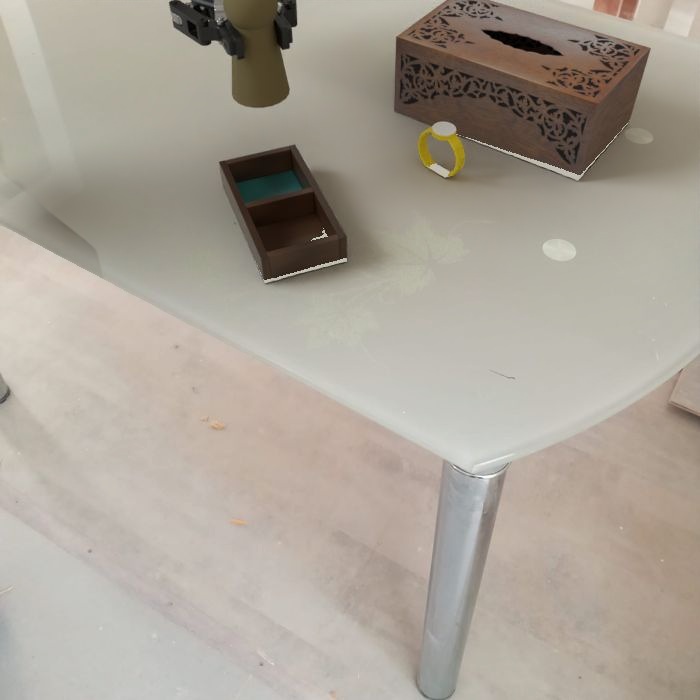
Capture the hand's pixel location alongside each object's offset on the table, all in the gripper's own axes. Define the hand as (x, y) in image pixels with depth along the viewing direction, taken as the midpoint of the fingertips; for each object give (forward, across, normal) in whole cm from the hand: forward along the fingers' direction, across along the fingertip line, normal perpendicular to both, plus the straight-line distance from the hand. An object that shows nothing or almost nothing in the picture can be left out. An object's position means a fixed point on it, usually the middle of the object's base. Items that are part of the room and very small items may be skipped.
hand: (263, 44), depth 74 cm
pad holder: (+4, -1, +19) cm, 19 cm away
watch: (+3, +19, +19) cm, 27 cm away
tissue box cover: (-4, +32, +19) cm, 38 cm away
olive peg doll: (-3, 0, +7) cm, 7 cm away
